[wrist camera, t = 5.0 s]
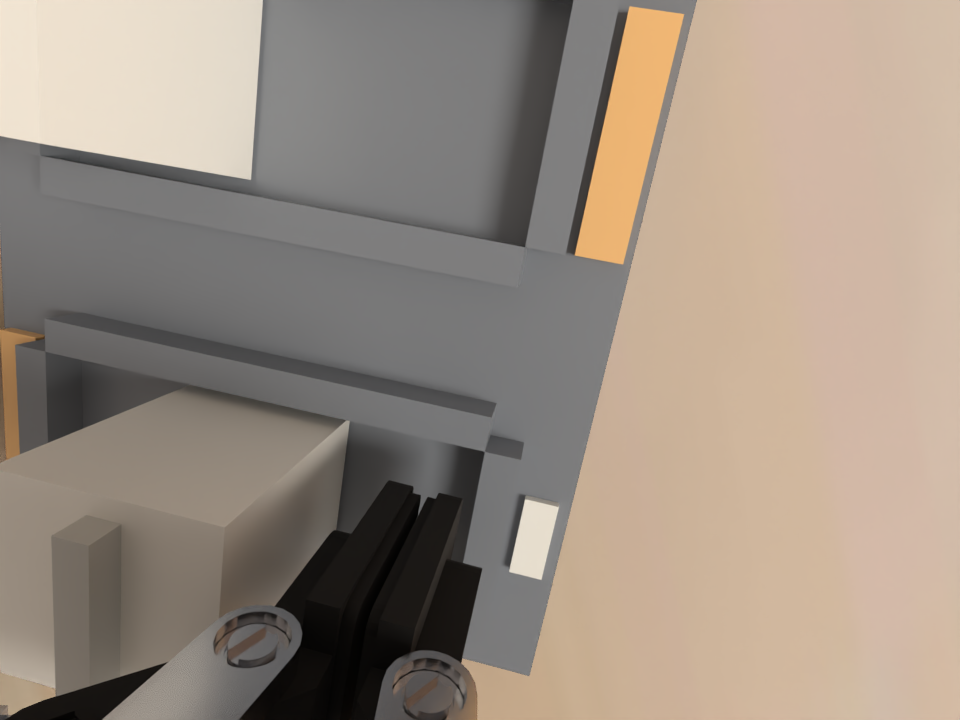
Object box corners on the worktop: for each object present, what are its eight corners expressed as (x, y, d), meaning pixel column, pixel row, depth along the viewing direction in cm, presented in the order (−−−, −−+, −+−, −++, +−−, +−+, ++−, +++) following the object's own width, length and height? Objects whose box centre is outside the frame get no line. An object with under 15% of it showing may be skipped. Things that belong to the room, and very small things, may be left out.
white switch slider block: (332, 560, 14) (186, 769, 8) (189, 524, 14) (-36, 700, 9) (350, 417, 13) (199, 549, 7) (196, 381, 13) (-54, 484, 8)
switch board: (531, 642, 15) (510, 956, 9) (52, 517, 17) (-281, 704, 10) (779, -371, 10) (1258, -1688, 3) (26, -425, 11) (-758, -1395, 4)
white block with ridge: (250, 179, 12) (-6, 135, 6) (87, 149, 12) (-283, 83, 7) (265, -25, 11) (-26, -278, 5) (86, -51, 11) (-349, -312, 6)
